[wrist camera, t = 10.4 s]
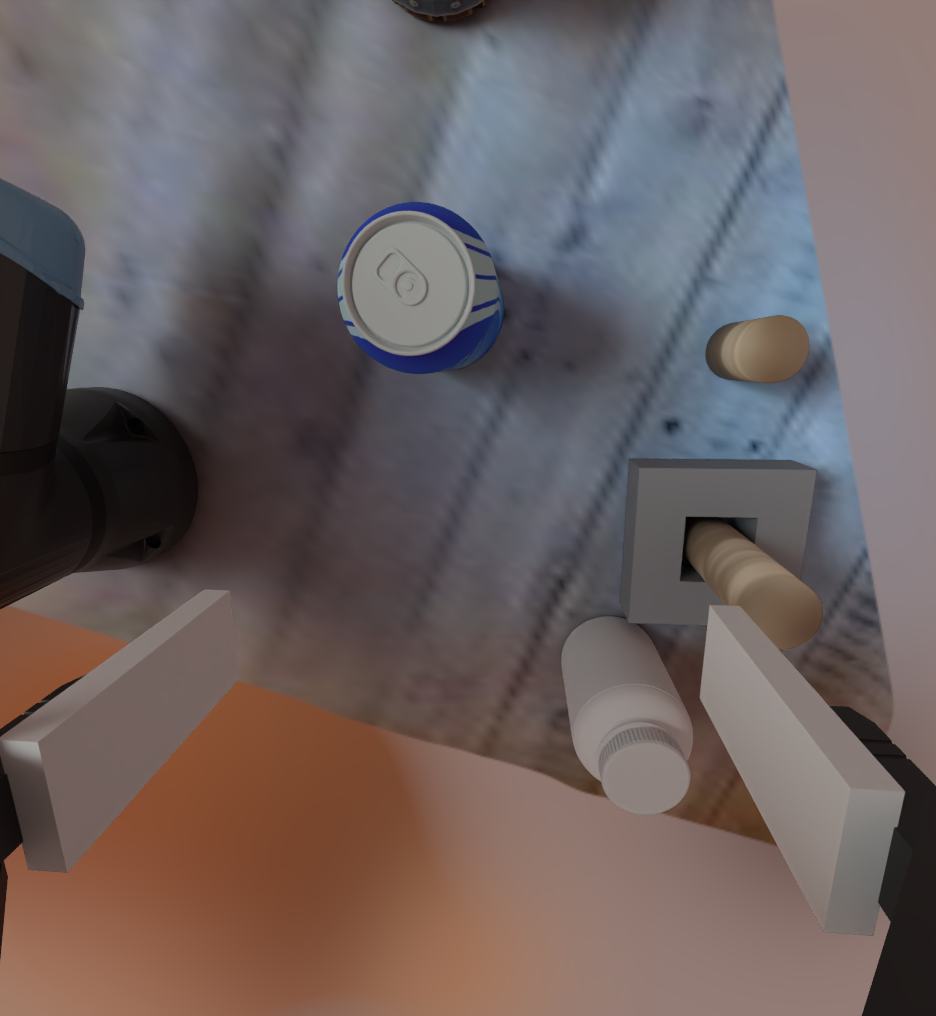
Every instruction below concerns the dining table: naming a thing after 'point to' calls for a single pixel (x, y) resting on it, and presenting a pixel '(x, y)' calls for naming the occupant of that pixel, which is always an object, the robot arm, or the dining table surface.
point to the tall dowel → (752, 581)
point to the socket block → (705, 493)
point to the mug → (441, 8)
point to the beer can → (420, 290)
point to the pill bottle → (626, 715)
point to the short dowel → (758, 349)
